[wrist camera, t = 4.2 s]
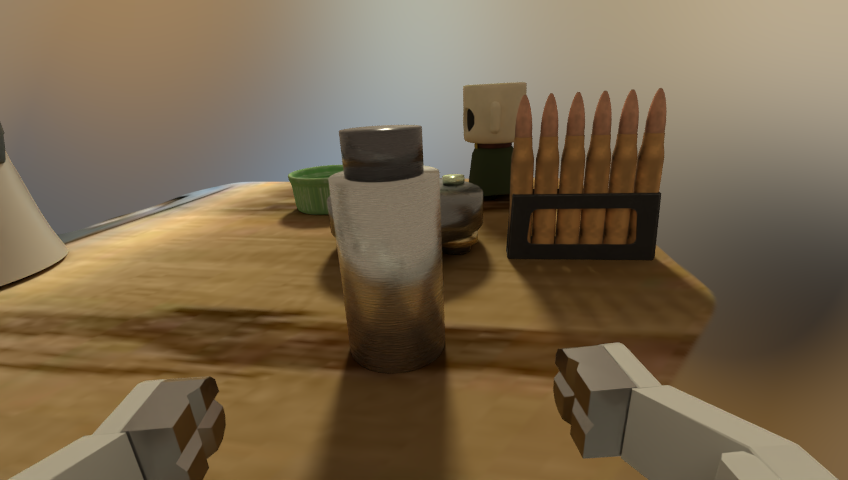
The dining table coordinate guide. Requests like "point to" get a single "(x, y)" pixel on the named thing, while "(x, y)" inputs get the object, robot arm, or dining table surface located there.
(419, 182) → the clear bottle
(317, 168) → the ramekin
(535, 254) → the ammunition clip
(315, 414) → the dining table surface
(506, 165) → the character mug
